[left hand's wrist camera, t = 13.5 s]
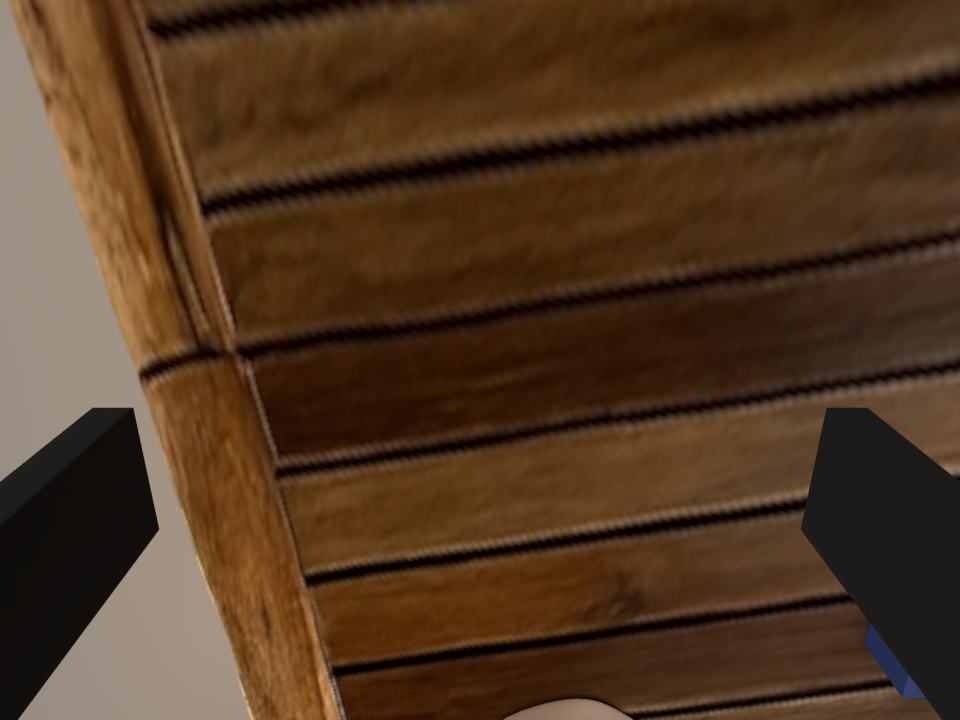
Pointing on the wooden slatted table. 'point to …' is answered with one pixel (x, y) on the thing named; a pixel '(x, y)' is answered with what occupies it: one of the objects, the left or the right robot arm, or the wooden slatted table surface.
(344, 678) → the wooden slatted table surface
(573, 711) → the anatomical model
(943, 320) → the wooden slatted table surface
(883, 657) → the blue cube
